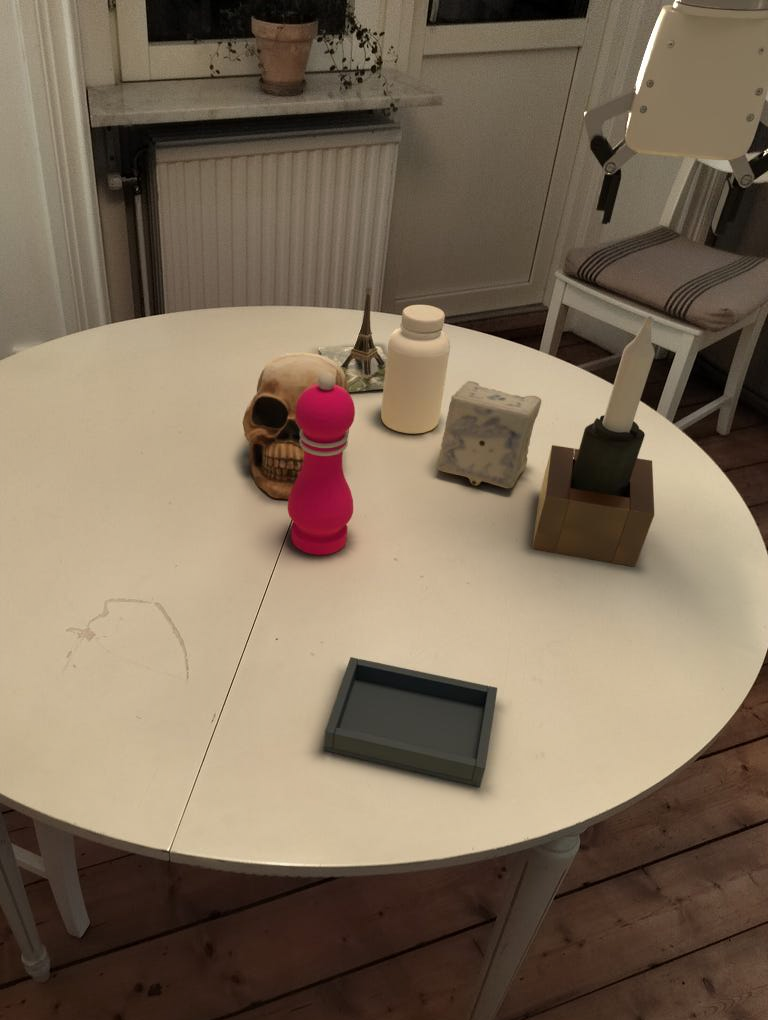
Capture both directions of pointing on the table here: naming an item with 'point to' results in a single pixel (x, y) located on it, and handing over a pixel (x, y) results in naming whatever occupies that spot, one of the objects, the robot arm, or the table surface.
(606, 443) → the candle
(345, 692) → the tray
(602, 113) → the robot arm
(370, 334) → the eiffel tower figurine
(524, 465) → the incense holder
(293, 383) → the skull
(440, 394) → the pill bottle
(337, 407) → the pepper mill
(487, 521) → the table surface
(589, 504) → the holder
